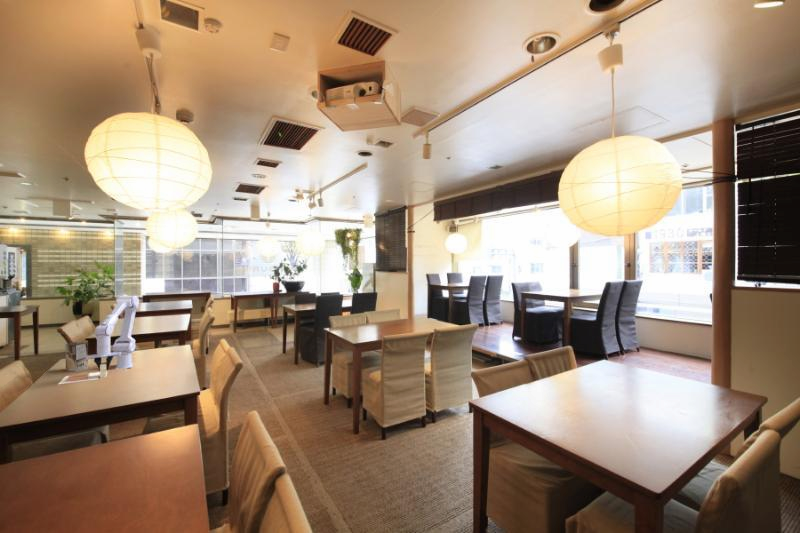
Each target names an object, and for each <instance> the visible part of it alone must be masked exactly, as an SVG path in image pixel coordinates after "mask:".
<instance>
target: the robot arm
mask: <svg viewBox="0 0 800 533" xmlns="http://www.w3.org/2000/svg"><path fill="white" fill-rule="evenodd" d="M139 306H140V299H139V297H138V295H118V296H117V298H116V300H115V306H114V307H113V309H112V312H111V313H110V314H108V315H106V317H105V318H104V320H103V321H102V322H101V324H99V325H97V326H96V327H95V328H94V331H93V334H94V335H95V339H96V353H95V354H88V355H87V356H86V360H88V361H89V360H93V362H94V363H95V364H96V366H97V368H98V372H100V364H101V363H102V359H104V358H105V362H106V363H107V366H106V370H108V371H109V368H110V365H111V362H112V360H113V359H114V357H116V367H115V368H114V370H120V369H130V368H133V366H134V362H133V360H132V359H133V356H132V353H133V352H134V351H135V349H136V339H135V338H134V337H132V333H133V330H134V322H135V319H136V318H135V317H136V313H137V310H138V309H139ZM123 311H124V317H123V321H122V328H121V333H120V336H119V337H118V338H117V339H115V341H114V343H113V346H112V351H113V352H111V335H113V333H114V329H115V326H116V324H117V322H118V320H119V315H120V314H121V313H122V312H123Z"/></svg>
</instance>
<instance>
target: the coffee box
mask: <svg viewBox="0 0 800 533" xmlns="http://www.w3.org/2000/svg"><path fill="white" fill-rule="evenodd" d="M88 347H89V345H88V342H81V341H75V342H74V341H73V342H70V343H66V344H65V347H64V348H65V371H70V372H79V371H83V370H87V369H89V360H86V356H87V355H89V351H88V350H89V349H88Z"/></svg>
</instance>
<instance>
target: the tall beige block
mask: <svg viewBox="0 0 800 533" xmlns="http://www.w3.org/2000/svg"><path fill="white" fill-rule="evenodd" d="M106 366H107V363H106V361H101V364H100V371H99V372H100V377H99V378H100V379H102V378H107V376H109V369H108V370H106Z"/></svg>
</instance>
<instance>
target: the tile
mask: <svg viewBox="0 0 800 533" xmlns="http://www.w3.org/2000/svg"><path fill="white" fill-rule="evenodd" d="M68 376H69V377H68V378H67V382H68V381H76V380H83V379H87V378H88V377H89V372H87V373H80V374H71V375H68Z"/></svg>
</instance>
